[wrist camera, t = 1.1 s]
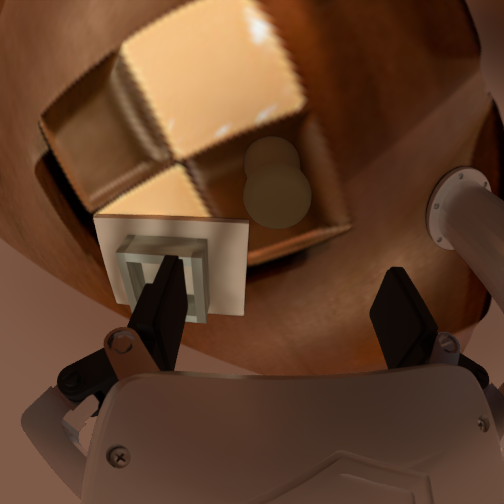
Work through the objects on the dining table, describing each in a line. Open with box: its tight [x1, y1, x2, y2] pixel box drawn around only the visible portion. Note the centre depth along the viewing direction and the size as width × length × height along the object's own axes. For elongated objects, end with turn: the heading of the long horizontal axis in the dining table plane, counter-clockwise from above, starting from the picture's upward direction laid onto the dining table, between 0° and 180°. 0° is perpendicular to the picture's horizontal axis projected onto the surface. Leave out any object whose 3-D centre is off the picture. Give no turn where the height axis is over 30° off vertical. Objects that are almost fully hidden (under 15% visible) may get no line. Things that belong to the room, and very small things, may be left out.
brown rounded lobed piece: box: [243, 136, 312, 229], centre depth 24 cm, size 6×6×11 cm
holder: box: [94, 214, 249, 323], centre depth 34 cm, size 20×15×5 cm
